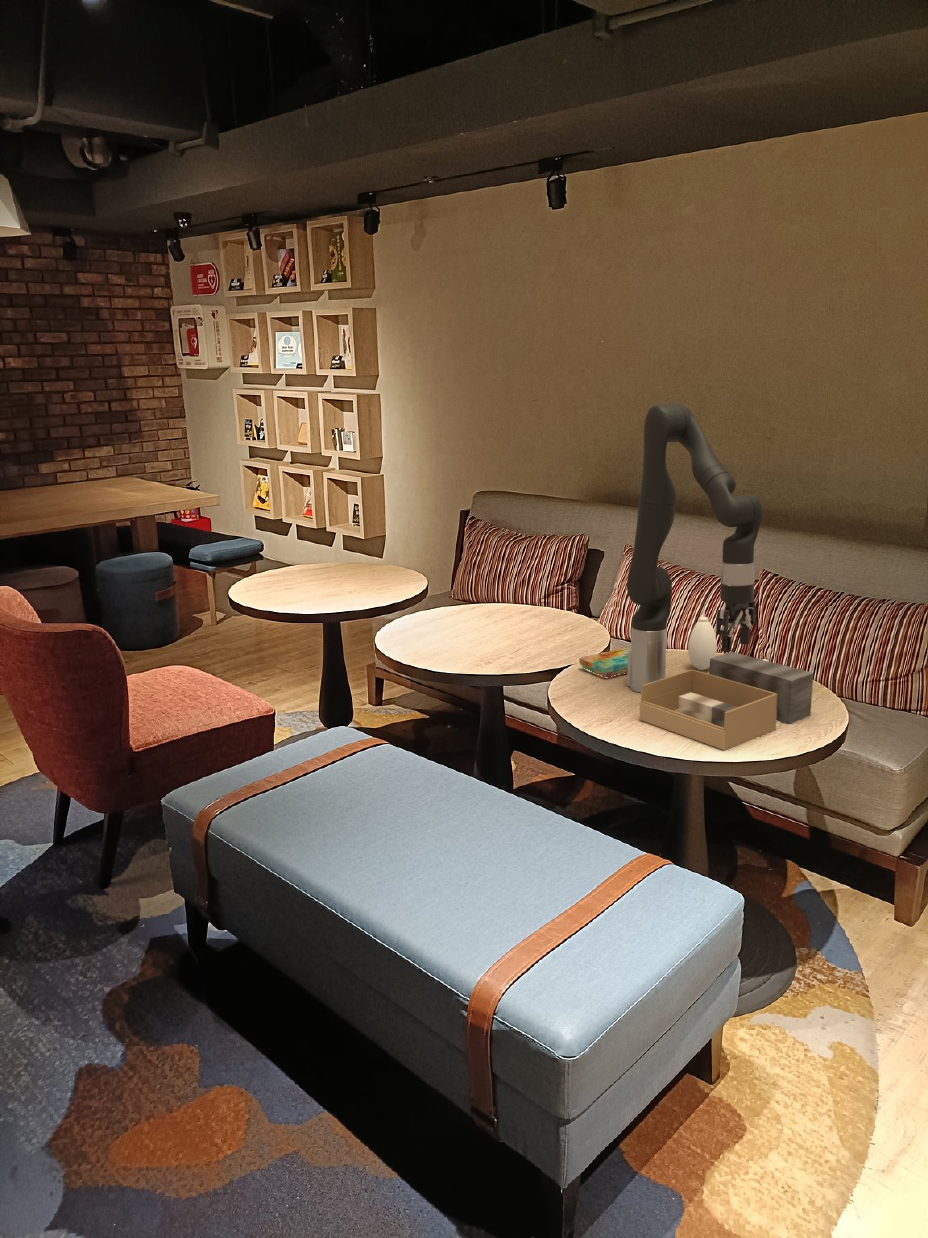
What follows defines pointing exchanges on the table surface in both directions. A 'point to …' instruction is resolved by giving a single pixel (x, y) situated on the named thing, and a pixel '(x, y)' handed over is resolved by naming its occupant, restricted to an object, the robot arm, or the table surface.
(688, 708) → the block
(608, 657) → the puzzle game
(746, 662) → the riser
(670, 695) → the carton
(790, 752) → the table surface
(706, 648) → the sauce bottle
